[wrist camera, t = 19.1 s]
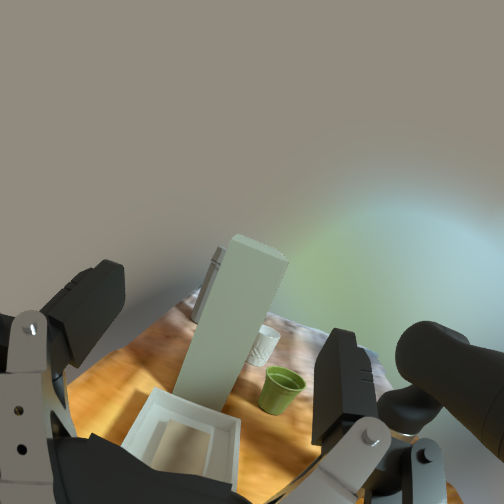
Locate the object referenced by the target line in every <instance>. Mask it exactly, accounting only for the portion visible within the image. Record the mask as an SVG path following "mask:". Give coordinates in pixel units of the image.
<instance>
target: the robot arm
mask: <svg viewBox="0 0 504 504" xmlns="http://www.w3.org/2000/svg"><path fill="white" fill-rule="evenodd" d="M124 302H125V277H124V267H123V265H121V264H118V263H115V262H113V261H110V260H106V259H105V260H103V261H102V262H100V263H99V264H98V265H97V266H96V267H95V268H94V269H93V268H89V269H86V270H84V271H82V272H80V273H78V274H77V275H76V276H75V277H74V278H73V279H72V280H71V282H69V283H68V284H67V285H66V286H65V287H64V289H61V290H60V291H59V292H58V293H57V294H56V295H55V296H54V297H53V298H52V299H51V300H50V301H49V302H48V303H47V304H46V305H45V306H44V307H43V308H42V309H41V310H40V311H39V312H38V311H34V310H30V311H25V312H22V313H20V314H19V315H18V316H16V317H12V316H8V315H3V314H0V504H252V503H251V502H250V501H248V500H247V499H246V498H244V497H243V496H241V495H239V494H238V493H236V492H234V491H231V489H232V484H231V483H226V482H222V481H218V480H214V479H210V478H206V477H203V476H199V475H195V474H183V473H173V472H164V471H158V470H155V469H153V468H151V467H149V466H148V465H146V464H145V463H144V462H142V461H141V460H139V459H138V458H136V457H135V456H134V455H132V454H131V453H129V452H128V451H127V450H125V449H124V448H122V447H120V446H118V445H116V444H114V443H112V442H110V441H107V440H105V439H103V438H101V437H99V436H97V435H96V434H94V433H91V435H90V437H89V439H87V438H80V437H77V434H76V430H75V427H74V424H73V422H72V419H71V415H70V410H69V402H68V394H67V385H66V375H65V371H64V369H65V367H66V366H67V365H68V364H70V365H72V366H74V367H76V368H79V367H80V365H81V364H82V363H83V361H84V360H85V358H86V357H87V356H88V354H89V353H90V351H91V350H92V349H93V347H94V346H95V345H96V343H97V342H98V340H99V339H100V338H101V337H102V335H103V334H104V333H105V331H106V330H107V328H108V327H109V326H110V325H111V323H112V322H113V321H114V319H115V318H116V317H117V315H118V314H119V313H120V312H121V310H122V308H123V305H124ZM395 360H396V366H397V369H398V372H399V373H400V375H401V376H402V377H403V378H404V379H405V380H407V381H408V382H410V383H412V385H411V386H409V387H406V388H403V389H398V390H392V391H388V392H386V393H384V394H383V395H382V396H381V397H380V399H379V400H378V402H376V395H375V388H374V383H373V375H372V374H371V372H372V368H371V363H370V359H369V357H368V355H367V354H366V352H365V350H364V349H363V348H359V347H357V343H356V336H355V333H354V332H350V331H347V330H342V329H338V328H334V329H333V330H332V331H331V333H330V335H329V337H328V339H327V340H326V342H325V344H324V346H323V348H322V349H321V351H320V353H319V355H318V357H317V359H316V363H315V367H314V397H313V423H312V441H311V445H317V446H321V454H320V455H319V456H318V457H317V458H316V459H315V460H314V461H313V462H312V463H311V464H310V465H309V466H308V467H307V468H306V469H304V470H303V471H302V472H301V473H300V474H299V475H298V476H297V477H296V478H295V479H294V480H293V481H291V482H290V483H289V484H288V485H287V486H286V487H285V488H283V489H282V490H281V491H280V492H278V493H277V494H276V495H274V496H273V497H272V498H270V499H269V500H268V501H267V502H265V503H264V504H355V503H356V501H357V500H358V499H360V498H361V497H364V504H447V493H446V480H445V470H444V461H443V454H442V451H441V448H440V447H439V445H438V444H437V443H436V442H435V441H433V440H431V439H428V438H422V439H419V440H418V441H416V442H415V443H414V444H410V443H411V442H412V441H413V440H414V438H415V437H416V436H417V434H418V433H419V432H420V430H421V429H422V428H423V427H424V426H425V425H426V424H427V423H429V422H430V421H432V420H433V419H434V418H435V417H436V416H437V414H438V413H439V412H440V410H441V409H442V408H443V406H444V407H445V408H446V409H447V410H448V411H449V412H450V413H451V414H452V415H453V416H454V417H455V418H456V419H457V420H458V421H459V422H461V423H462V424H463V425H464V426H465V427H466V428H467V429H468V430H469V431H471V432H472V434H473V435H474V436H475V437H477V439H478V440H479V441H480V442H481V443H482V444H483V445H484V446H485V447H486V448H487V449H489V450H490V451H491V452H492V453H493V454H494V455H495V456H496V457H497V458H499V459H500V460H501V461H502V462H503V463H504V353H503V352H499V351H495V350H491V349H486V348H481V347H477V346H473V345H470V343H469V341H468V339H467V338H466V337H465V336H464V335H462V334H460V333H458V332H456V331H454V330H451V329H449V328H447V327H445V326H442V325H440V324H438V323H436V322H431V321H421V322H417V323H415V324H413V325H412V326H410V327H409V328H408V329H407V330H406V331H405V332H404V333H403V334H402V335H401V337H400V339H399V341H398V343H397V347H396V352H395Z"/></svg>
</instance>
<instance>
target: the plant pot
mask: <svg viewBox="0 0 504 504" xmlns="http://www.w3.org/2000/svg"><path fill="white" fill-rule="evenodd" d="M305 388H306V382H305V381H304V379H303V378H302V377H301V376H299V375H298V374H297V373H295V372H293V371H291V370H289V369H287V368H283V367H280V366H270V367H268V368H267V369H266V380H265V383H264V386H263V389H262V392H261V395H260V398H259V401H258V405H259V406H260V408H262V409H264V410H265V411H266V412H267V413H269V414H273V415H279V414H281V413H283V411H284V410H285V409H286V408H287V407H288V405H289V404H290V403H291V402H292V400H293V399H294V398H295V397H296V396H297V394H299V393H300V392H301V391H303V390H304V389H305Z"/></svg>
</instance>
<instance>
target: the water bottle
mask: <svg viewBox="0 0 504 504" xmlns="http://www.w3.org/2000/svg"><path fill="white" fill-rule="evenodd" d="M226 251H227V248H226V247H222V246H218V248H217V250H216V252H215V254H214V256H213V258H212V259H211V261H212V262H211V264H210V266H209V269H208V272H207V274H206V277H205V279H204V282H203V285H202V287H201V290H200V292H199V295H198V298H197V300H196V303H195V306H194V308H193V311H192V314H191V319H192V320H193V321H194V322H195V323H196V324H198V322H199V320H200V317H201V315H202V312H203V309H204V307H205V304H206V302H207V299H208V296H209V294H210V291H211V289H212V286H213V284H214V281H215V279H216V276H217V273H218V271H219V268H220V266H221V263H222V261H223V258H224V256H225V253H226Z"/></svg>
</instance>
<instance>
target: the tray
mask: <svg viewBox="0 0 504 504" xmlns="http://www.w3.org/2000/svg"><path fill="white" fill-rule="evenodd" d="M170 419H172V420H174V421H176V422H179V423H182V424H184V425H187V426H189V427H192V428H195V429H197V430H200V431H203V432H206V433H209V434H211V437H210V442H209V447H208V452H207V456H206V461H205V466H204V471H203V477H206V478H210V479H214V480H218V481H222V482H226V483H231V484H232V489H231V491H234V492H236V491H237V476H238V460H239V444H240V428H241V419H239V418H236V417H232V416H229V415H226V414H223V413H220V412H217V411H215V410H212V409H209V408H206V407H203V406H201V405H198V404H195V403H193V402H190V401H188V400H185V399H183V398H180V397H178V396H175V395H173V394H170V393H168V392H166V391H163V390H161V389H159V388H157V387H154V389H153V390H152V392H151V394H150V396H149V397H148V399H147V401H146V402H145V404H144V406H143V408H142V409H141V411H140V413H139V415H138V416H137V418H136V420H135V422H134V423H133V425H132V427H131V429H130V430H129V432H128V434H127V436H126V438H125V439H124V441H123V443H122V445H121V446H120V447H122V448H124V449H125V450H127V451H128V452H129V453H131V454H132V455H134V456H135V457H136V458H138V459H139V460H141V461H142V462H144V463H145V464H146V465H148V466H149V467H150V465H151V463H152V460H153V458H154V456H155V453H156V451H157V448H158V446H159V444H160V441H161V439H162V436H163V434H164V432H165V429H166V427H167V425H168V422H169V420H170Z"/></svg>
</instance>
